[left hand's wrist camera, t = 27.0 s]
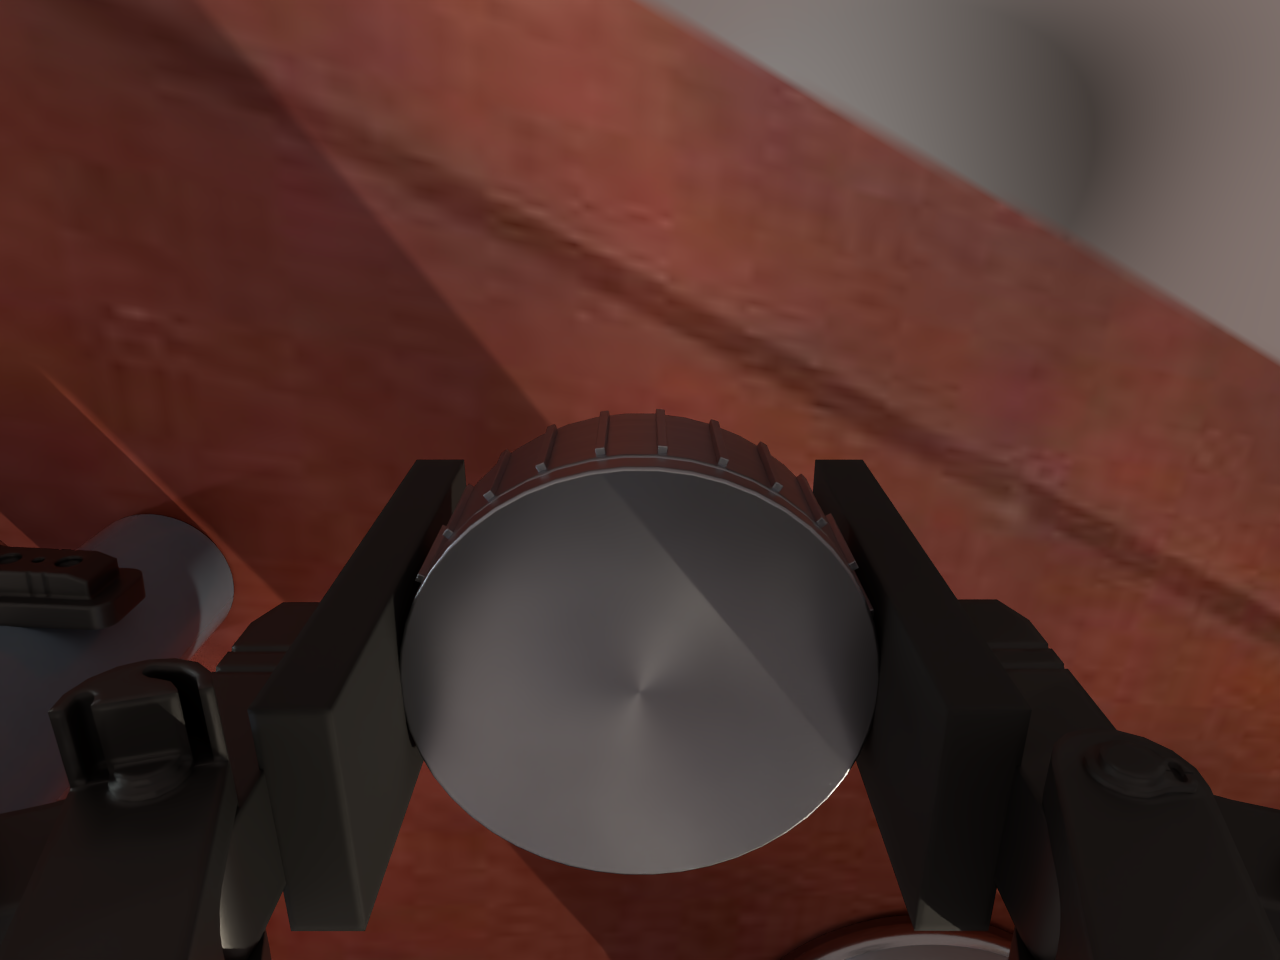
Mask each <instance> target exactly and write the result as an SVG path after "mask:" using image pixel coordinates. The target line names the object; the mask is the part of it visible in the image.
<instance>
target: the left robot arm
mask: <svg viewBox="0 0 1280 960" xmlns="http://www.w3.org/2000/svg"><path fill="white" fill-rule="evenodd" d="M465 488H466V478H465V466H464V460H416V462H415V463H414V465H413V466H412V468H411V469H410V471H409V472H408V474H407V475H406V477H405V478H404V479H403V481H402V482H401V484H400V485H399V487H398V488H397V490H396V491H395V493H394V494H393V496H392V497H391V499H390V500H389V502H388V503H387V505H386V506H385V507H384V509H383V510H382V512H381V513H380V515H379V516H378V518H377V519H376V521H375V522H374V524H373V525H372V527H371V528H370V530H369V531H368V533H367V534H366V536H365V537H364V538H363V540H362V541H361V543H360V544H359V546H358V547H357V549H356V550H355V552H354V553H353V555H352V556H351V558H350V559H349V561H348V562H347V564H346V565H345V566H344V568H343V569H342V571H341V572H340V574H339V575H338V577H337V578H336V580H335V581H334V583H333V584H332V586H331V587H330V589H329V590H328V592H327V593H326V594H325V596H324V597H323V599H322V600H321V602H283V603H281V604H280V605H278V606H277V607H275V608H274V609H272V610H270V611H269V612H267V613H266V614H264V615H263V616H261V617H259V618H258V619H256V620H255V621H253V622H252V623H251V624H250V625H249V626H248V627H247V629H246V630H245V631H244V632H243V634H242V635H241V636H240V637H239V639H238V640H237V641H236V642H235V644H234V645H233V646H232V652H228V653H227V654H226V655H225V656H224V658H223V659H222V660H221V661H220V663H219V664H218V665H217V667H216V672H212V673H211V672H210V671H209V670H207V669H206V668H205V667H203V666H202V665H201V664H200V663H198V662H193V661H188V660H183V659H179V658H167V659H148V660H144V661H139V662H135V663H130V664H126V665H122V666H117V667H115V668H113V669H110V670H108V671H105V672H103V673H100V674H98V675H95V676H93V677H90V678H88V679H86V680H85V681H83V682H82V683H80V684H79V685H77V686H76V687H74V688H72V689H71V690H69V691H68V692H66V693H65V694H63V695H62V696H61V697H60V699H59V700H58V701H57V702H56V703H55V704H54V705H53V707H52V708H51V709H50V710H49V711H48V715H49V718H50V722H51V725H52V728H53V732H54V735H55V738H56V742H57V745H58V748H59V752H60V755H61V758H62V762H63V765H64V768H65V772H66V775H67V778H68V782H69V785H70V790H69V793H68V795H67V797H66V799H64V800H60V801H56V802H53V803H49V804H44V805H40V806H35V807H30V808H25V809H21V810H16V811H11V812H7V813H2V814H0V960H271V954H270V948H269V943H268V938H267V933H266V926H267V924H268V922H269V919H270V917H271V915H272V913H273V911H274V909H275V907H276V904H277V902H278V900H279V898H280V896H281V894H282V892H284V897H285V902H286V907H287V912H288V917H289V922H290V928H291V931H365V929H366V926H367V924H368V921H369V918H370V915H371V912H372V909H373V906H374V903H375V900H376V897H377V894H378V891H379V889H380V886H381V883H382V880H383V877H384V874H385V871H386V868H387V865H388V862H389V859H390V857H391V854H392V851H393V848H394V845H395V842H396V839H397V836H398V833H399V830H400V827H401V824H402V822H403V819H404V816H405V813H406V810H407V807H408V804H409V801H410V798H411V795H412V792H413V790H414V787H415V784H416V781H417V778H418V775H419V772H420V769H421V766H422V763H423V758H422V757H421V755H420V753H419V751H418V748H417V746H416V744H415V742H414V739H413V737H412V735H411V733H410V730H409V727H408V723H407V720H406V716H405V712H404V705H403V697H402V688H401V680H400V667H399V660H400V647H401V642H402V637H403V631H404V626H405V622H406V619H407V616H408V614H409V611H410V608H411V606H412V603H413V600H414V597H415V595H416V593H417V591H418V589H419V587H420V585H421V583H419V582H417V581H415V580H416V577H417V575H418V573H419V571H420V569H421V567H422V565H423V563H424V561H425V559H426V557H427V555H428V553H429V551H430V549H431V547H432V545H433V543H434V541H435V539H436V537H437V535H438V533H439V531H440V529H441V527H442V525H445V526H447V524H448V522H449V520H450V518H451V516H452V514H453V512H454V510H455V508H456V506H457V504H458V502H459V500H460V498H461V496H462V494H463V492H464V490H465ZM813 494H814V496H815V498H816V500H817V502H818V504H819V506H820V507H821V509H822V511H823V513H824V515H825V516H826V515H828V514H830V513H831V514H832V516H833V518H834V520H835V522H836V524H837V526H838V528H839V530H840V532H841V534H842V536H843V538H844V540H845V542H846V544H847V545H848V547H849V549H850V551H851V553H852V555H853V557H854V559H855V561H856V563H857V565H858V569H856V570H855V572H856V574H857V576H858V578H859V580H860V582H861V585H862V587H863V589H864V591H865V593H866V595H867V597H868V599H869V601H870V603H871V605H872V607H873V609H874V617H873V620H874V623H875V628H876V633H877V638H878V643H879V648H880V674H879V683H878V692H877V700H876V708H875V715H874V718H873V722H872V725H871V729H870V732H869V734H868V736H867V739H866V741H865V743H864V745H863V748H862V750H861V752H860V754H859V756H858V758H857V759H856V762H857V765H858V768H859V771H860V774H861V777H862V779H863V782H864V785H865V788H866V791H867V794H868V797H869V800H870V803H871V806H872V809H873V811H874V814H875V817H876V820H877V823H878V826H879V829H880V832H881V835H882V838H883V841H884V844H885V846H886V849H887V852H888V855H889V858H890V861H891V864H892V867H893V870H894V873H895V876H896V878H897V881H898V884H899V887H900V890H901V893H902V896H903V899H904V902H905V905H906V908H907V911H908V913H909V915H906V916H894V917H886V918H879V919H874V920H869V921H865V922H860V923H856V924H853V925H850V926H846V927H843V928H840V929H837V930H835V931H832V932H829V933H826V934H824V935H822V936H820V937H818V938H816V939H813V940H811V941H809V942H807V943H806V944H804V945H802V946H800V947H798V948H797V949H795V950H793V951H792V952H791V953H789V954H788V955H786V956H785V957H783V958H782V959H780V960H1280V810H1278V809H1273V808H1268V807H1263V806H1258V805H1254V804H1249V803H1244V802H1239V801H1235V800H1230V799H1227V798H1223V797H1219V796H1216V795H1213V793H1212V791H1211V789H1210V787H1209V785H1208V784H1207V783H1206V781H1205V780H1204V779H1203V777H1202V776H1201V775H1200V773H1199V772H1198V771H1197V769H1196V768H1195V767H1194V766H1192V765H1191V764H1190V763H1188V762H1187V761H1186V760H1184V759H1183V758H1182V757H1180V756H1179V755H1178V754H1176V753H1175V752H1174V751H1172V750H1170V749H1168V748H1166V747H1163V746H1161V745H1159V744H1157V743H1155V742H1153V741H1151V740H1149V739H1146V738H1144V737H1140V736H1137V735H1133V734H1129V733H1125V732H1121V731H1118V730H1116V729H1115V727H1114V726H1113V725H1112V724H1111V722H1110V721H1109V720H1108V719H1107V717H1106V716H1105V715H1104V714H1103V712H1102V711H1101V710H1100V709H1099V707H1098V706H1097V705H1096V704H1095V702H1094V701H1093V700H1092V699H1091V697H1090V696H1089V695H1088V693H1087V692H1086V691H1085V690H1084V688H1083V687H1082V686H1081V685H1080V683H1079V682H1078V681H1077V680H1076V678H1075V677H1074V676H1073V675H1072V673H1071V672H1070V671H1069V670H1068V669H1064V663H1063V662H1062V661H1061V660H1060V658H1059V657H1058V656H1057V655H1056V653H1055V652H1054V651H1053V650H1052V649H1048V643H1047V642H1046V641H1045V639H1044V638H1043V637H1042V636H1041V634H1040V633H1039V632H1038V631H1037V629H1036V628H1035V627H1034V626H1033V624H1032V623H1031V622H1030V621H1029V620H1028V619H1027V618H1025V617H1023V616H1022V615H1020V614H1019V613H1017V612H1016V611H1014V610H1012V609H1011V608H1009V607H1008V606H1006V605H1005V604H1003V603H1001V602H1000V601H998V600H957V598H956V597H955V595H954V594H953V592H952V591H951V589H950V588H949V586H948V585H947V584H946V582H945V581H944V579H943V578H942V576H941V575H940V573H939V572H938V570H937V569H936V567H935V566H934V564H933V563H932V561H931V560H930V558H929V557H928V556H927V554H926V553H925V551H924V550H923V548H922V547H921V545H920V544H919V542H918V541H917V539H916V538H915V536H914V535H913V533H912V532H911V530H910V529H909V527H908V526H907V525H906V523H905V522H904V520H903V519H902V517H901V516H900V514H899V513H898V511H897V510H896V508H895V507H894V505H893V504H892V502H891V501H890V499H889V498H888V497H887V495H886V494H885V492H884V491H883V489H882V488H881V486H880V485H879V483H878V482H877V480H876V479H875V477H874V476H873V474H872V473H871V471H870V470H869V469H868V467H867V466H866V464H865V463H864V461H863V460H815V472H814V484H813ZM997 888H998V891H999V893H1000V895H1001V897H1002V899H1003V901H1004V903H1005V905H1006V908H1007V910H1008V912H1009V914H1010V916H1011V918H1012V920H1013V922H1014V924H1015V928H1014V933H1013V934H1011V933H1008V932H1006V931H1004V930H1002V929H999V928H996V927H993V926H990V920H991V915H992V910H993V904H994V899H995V894H996V889H997Z"/></svg>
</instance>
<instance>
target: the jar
mask: <svg viewBox="0 0 1280 960" xmlns="http://www.w3.org/2000/svg"><path fill="white" fill-rule="evenodd" d="M76 550H90V551H99V552H102V553H104V554H107V555H110V556H112V557H115V558H117V562H118V567H119V568H134V569H138V570H140V571H142V575H143V581H144V587H145V592H146V597H145V598H144V599H143V600H142V601H141V602H140V603H139V604H138V605H137V606H136V607H134V608H133V609H132V610H131V611H130V612H129V613H128V614H127V615H126V616H125V617H124V618H123V619H121V620H120V621H119V622H118V623H116V624H115V625H113V626H110V627H107V628H104V629H98V630H78V629H55V628H33V627H11V626H0V814H2V813H7V812H11V811H16V810H21V809H25V808H30V807H35V806H40V805H44V804H49V803H53V802H56V801H60V800H64V799H66V797H67V795H68V793H69V790H70V785H69V782H68V778H67V775H66V772H65V768H64V765H63V762H62V758H61V755H60V752H59V748H58V745H57V742H56V738H55V735H54V732H53V728H52V725H51V722H50V718H49V715H48V711H49V710H50V709H51V708H52V707H53V705H54V704H55V703H56V702H57V701H58V700H59V699H60V697H61V696H62V695H63V694H65V693H66V692H68V691H69V690H71V689H72V688H74V687H76V686H77V685H79V684H80V683H82V682H83V681H85V680H86V679H88V678H90V677H93V676H95V675H98V674H100V673H103V672H105V671H108V670H110V669H113V668H115V667H117V666H122V665H126V664H130V663H135V662H139V661H144V660H148V659H167V658H179V659H183V660H188V661H189V660H190V659H191V657H192V656H193V655H194V654H195V653H196V652H197V651H198V649H199V648H200V647H201V646H202V645H203V644H204V642H205V641H206V640H207V639H208V638H209V637H210V636H211V634H212V633H213V632H214V631H215V630H216V629H217V628H218V626H219V625H220V624H221V623H222V622H223V621H224V619H225V618H226V616H227V615H228V612H229V610H230V608H231V605H232V601H233V595H234V584H233V578H232V574H231V571H230V568H229V565H228V563H227V561H226V559H225V557H224V556H223V554H222V553H221V551H220V550H219V549H218V547H217V546H216V545H215V544H214V543H213V542H212V541H211V540H210V539H209V538H208V537H207V536H206V535H204V534H203V533H202V532H200V531H199V530H198V529H196V528H194V527H193V526H191V525H189V524H187V523H185V522H183V521H180V520H177V519H175V518H172V517H167V516H163V515H155V514H140V515H133V516H129V517H125V518H122V519H120V520H117V521H115V522H114V523H112V524H110V525H109V526H107V527H106V528H105V529H103V530H102V531H100V532H99V533H98V534H96V535H95V536H93V537H92V538H91V539H89V540H88V541H87V542H85V543H84V544H82V545H81V546H80V547H78V548H77V549H75V550H74V551H76Z"/></svg>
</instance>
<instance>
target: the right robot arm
mask: <svg viewBox="0 0 1280 960" xmlns="http://www.w3.org/2000/svg"><path fill="white" fill-rule="evenodd" d="M145 597H146V592H145V587H144V581H143V575H142V571H140V570H138V569H134V568H119V567H118V562H117V558H115V557H112V556H110V555H107V554H104V553H102V552H99V551H90V550H76V551H74V550H68V549H62V550H59V549H46V548H24V547H8V546H7V545H6V544H5V543H3V542H2V541H1V540H0V626H11V627H33V628H55V629H78V630H98V629H104V628H107V627H110V626H113V625H115V624H116V623H118V622H119V621H120V620H121V619H123V618H124V617H125V616H126V615H127V614H128V613H129V612H130V611H131V610H132V609H133V608H134V607H136V606H137V605H138V604H139V603H140V602H141V601H142V600H143V599H144V598H145Z"/></svg>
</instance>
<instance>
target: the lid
mask: <svg viewBox="0 0 1280 960" xmlns="http://www.w3.org/2000/svg"><path fill="white" fill-rule="evenodd" d="M856 569H858V565H857V563H856V561H855V559H854V557H853V555H852V553H851V551H850V549H849V547H848V545H847V544H846V542H845V540H844V538H843V536H842V534H841V532H840V530H839V528H838V526H837V524H836V522H835V520H834V518H833V516H832V514H831V513H830V514H828V515H826V516H825V515H824V513H823V511H822V509H821V507H820V506H819V504H818V502H817V500H816V498H815V496H814V494H813V492H812V490H811V488H810V486H809V484H808V482H807V480H806V478H805V477H804V476H803V475H802V474H800V475H799V476H798V477H796V476H795V475H794V474H793V473H792V472H791V471H790V470H789V469H788V468H787V467H786V466H785V465H783V464H782V463H781V462H779V461H778V460H777V459H775V458H774V457H773V456H771V454H770V452H769V449H768V447H767V445H765V444H764V443H762V442H760V443H759V444H758V445H755V444H753V443H751V442H749V441H748V440H746V439H744V438H742V437H741V436H739V435H736V434H734V433H731V432H729V431H726V430H724V429H721V428H720V425H719V422H718V421H715V420H712V419H711V420H710V423H709V424H707V423H703V422H700V421H696V420H692V419H688V418H684V417H676V416H669V415H665V410H662V409H656V414H619V415H611V416H610V415H609V411H602V412H600V417H596V418H592V419H588V420H584V421H580V422H576V423H572V424H568V425H566V426H563V427H561V428H558V429H557V427H556V425H555V424H554V425H551V426H549V427H547V430H546V433H545V434H543V435H541V436H539V437H537V438H536V439H534V440H532V441H530V442H528V443H527V444H525V445H523V446H521V447H519V448H518V449H516V450H515V451H514V452H512V453H510V452H509V451H508V450H505V451H504V452H503V453H501V455H500V458H499V460H498V462H497V464H496V465H495V466H494V467H493V468H492V469H491V470H490V471H489V472H488V473H487V474H486V475H485V476H484V477H483V478H482V479H481V480H480V481H479V482H478V483H477V484H476V485H475V487H473V486H472V485H470V484H468V486H467V487H466V488H465V490H464V492H463V494H462V496H461V498H460V500H459V502H458V504H457V506H456V508H455V510H454V512H453V514H452V516H451V518H450V520H449V522H448V524H447V526H445V525H442V527H441V529H440V531H439V533H438V535H437V537H436V539H435V541H434V543H433V545H432V547H431V549H430V551H429V553H428V555H427V557H426V559H425V561H424V563H423V565H422V567H421V569H420V571H419V573H418V575H417V577H416V580H415V581H417V582H419V583H421V585H420V587H419V589H418V591H417V593H416V595H415V597H414V600H413V603H412V606H411V608H410V611H409V614H408V616H407V619H406V622H405V626H404V631H403V637H402V642H401V647H400V660H399V667H400V680H401V688H402V697H403V705H404V712H405V716H406V720H407V723H408V727H409V730H410V733H411V735H412V737H413V739H414V742H415V744H416V746H417V748H418V751H419V753H420V755H421V757H422V758H423V760H424V761H425V763H426V765H427V766H428V768H429V770H430V771H431V773H432V774H433V776H434V777H435V779H436V780H437V781H438V782H439V783H440V785H441V786H442V787H443V788H444V790H445V791H446V792H447V793H448V794H449V796H450V797H451V798H452V799H453V800H454V801H455V802H456V803H457V804H458V805H459V806H461V807H462V808H463V809H464V810H465V811H466V812H467V813H468V814H469V815H470V816H471V817H473V818H474V819H475V820H477V821H478V822H479V823H481V824H482V825H483V826H485V827H486V828H487V829H489V830H490V831H491V832H493V833H495V834H496V835H498V836H500V837H502V838H503V839H505V840H507V841H509V842H510V843H512V844H514V845H515V846H517V847H520V848H522V849H524V850H527V851H529V852H531V853H533V854H536V855H538V856H540V857H543V858H546V859H549V860H552V861H555V862H559V863H562V864H565V865H568V866H572V867H577V868H582V869H587V870H592V871H597V872H606V873H616V874H663V873H674V872H683V871H688V870H693V869H698V868H702V867H707V866H711V865H715V864H718V863H721V862H724V861H727V860H731V859H734V858H737V857H739V856H741V855H744V854H746V853H748V852H751V851H753V850H755V849H758V848H760V847H762V846H764V845H766V844H767V843H769V842H771V841H773V840H774V839H776V838H778V837H780V836H782V835H783V834H785V833H787V832H788V831H789V830H791V829H792V828H793V827H795V826H796V825H798V824H799V823H800V822H802V821H803V820H804V819H806V818H807V817H808V816H809V815H811V814H812V813H813V812H814V811H815V810H816V809H817V808H818V807H819V806H820V805H821V804H822V803H823V802H824V801H825V800H827V799H828V798H829V796H830V795H831V794H832V793H833V792H834V790H835V789H836V788H837V787H838V785H839V784H840V783H841V782H842V781H843V779H844V778H845V777H846V775H847V774H848V772H849V770H850V769H851V767H852V766H853V764H854V762H855V761H856V759H857V758H858V756H859V754H860V752H861V750H862V748H863V745H864V743H865V741H866V739H867V736H868V734H869V732H870V729H871V725H872V722H873V718H874V715H875V708H876V700H877V692H878V683H879V674H880V648H879V643H878V638H877V633H876V628H875V623H874V620H873V617H874V609H873V607H872V605H871V603H870V601H869V599H868V597H867V595H866V593H865V591H864V589H863V587H862V585H861V582H860V580H859V578H858V576H857V574H856V572H855V570H856Z"/></svg>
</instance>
